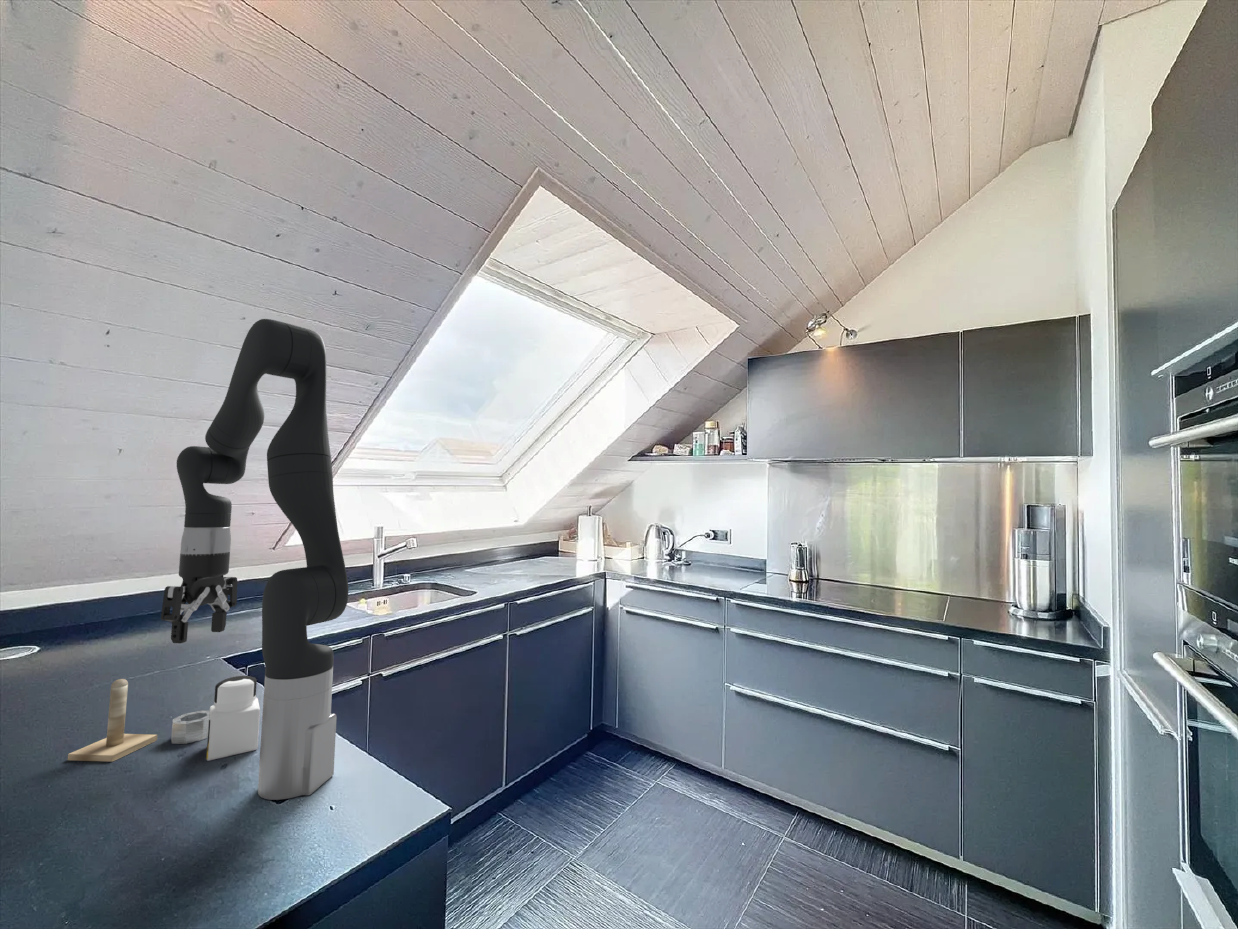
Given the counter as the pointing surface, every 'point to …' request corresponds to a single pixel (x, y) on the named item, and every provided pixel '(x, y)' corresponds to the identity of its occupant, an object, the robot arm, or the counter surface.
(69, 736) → the counter surface
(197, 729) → the ring
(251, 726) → the medicine bottle
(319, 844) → the counter surface
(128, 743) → the post stand
